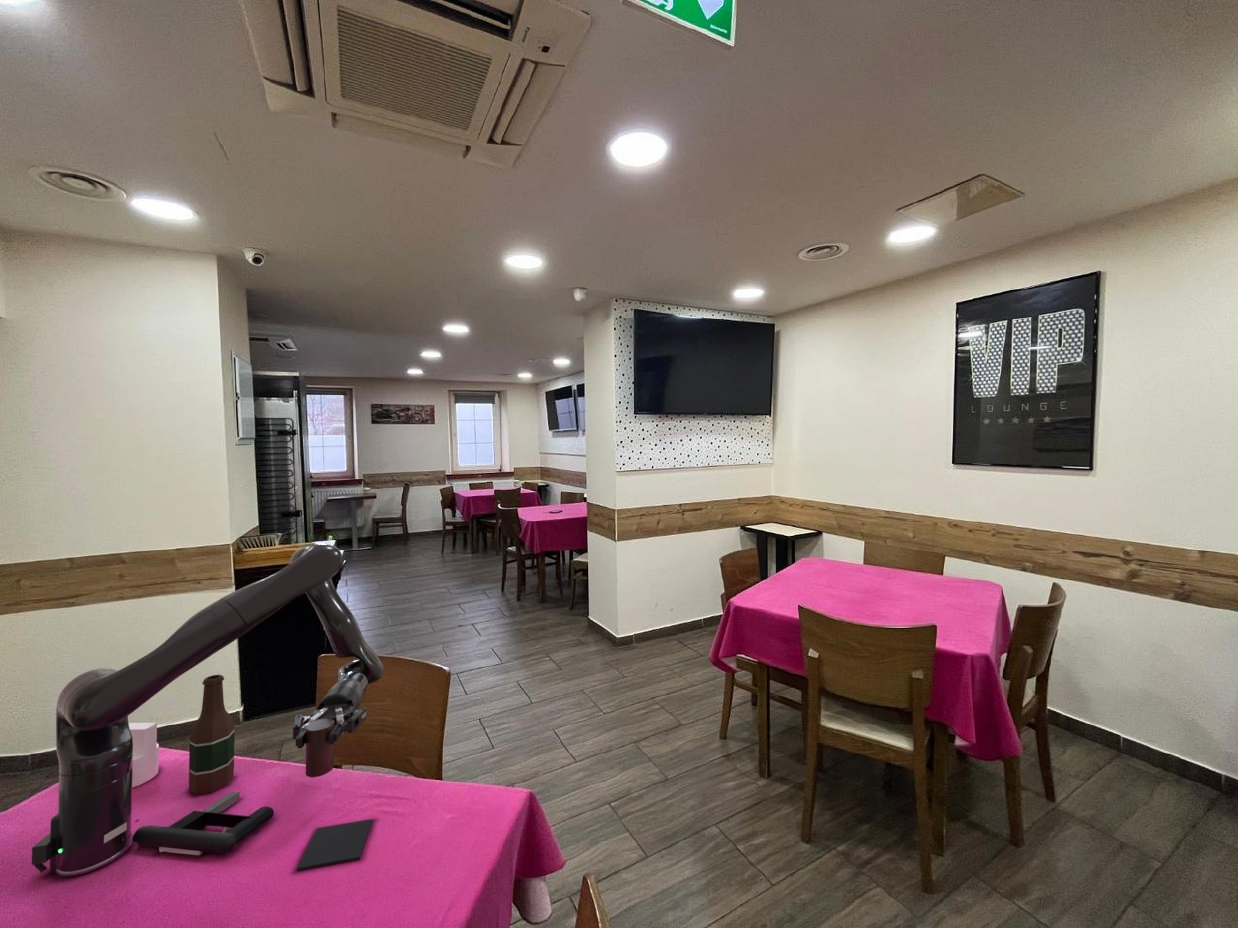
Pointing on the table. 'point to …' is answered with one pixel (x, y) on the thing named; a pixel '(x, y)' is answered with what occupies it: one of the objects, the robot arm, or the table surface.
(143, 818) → the table surface
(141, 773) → the base with upright slab
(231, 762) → the beer bottle
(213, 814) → the door handle
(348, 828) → the black mat
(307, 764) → the dark brown cylinder
